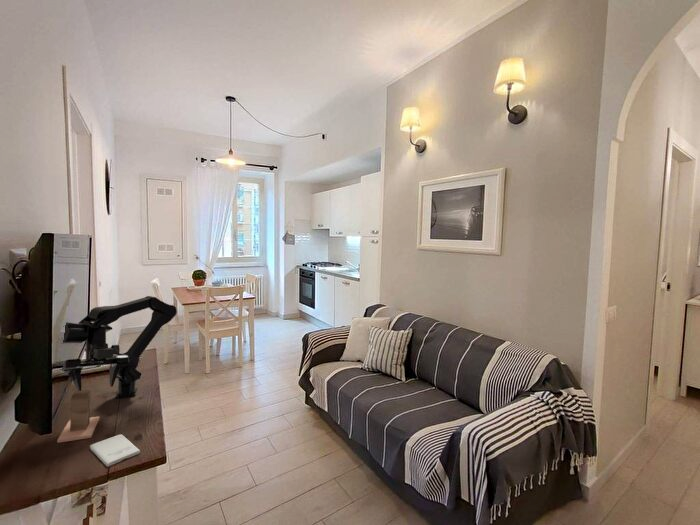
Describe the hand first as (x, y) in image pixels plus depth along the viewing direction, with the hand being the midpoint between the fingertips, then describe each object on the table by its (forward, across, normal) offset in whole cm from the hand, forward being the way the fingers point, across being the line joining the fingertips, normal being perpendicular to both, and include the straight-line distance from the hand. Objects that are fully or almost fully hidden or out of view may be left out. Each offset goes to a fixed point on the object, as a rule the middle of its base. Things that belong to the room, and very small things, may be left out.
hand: (96, 388), depth 115 cm
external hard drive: (+21, -2, -18) cm, 28 cm away
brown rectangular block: (+11, -5, -1) cm, 12 cm away
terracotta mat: (+12, -5, -1) cm, 13 cm away
